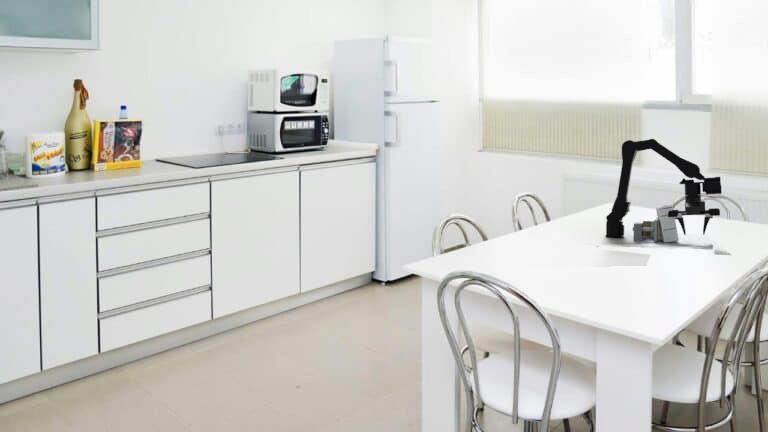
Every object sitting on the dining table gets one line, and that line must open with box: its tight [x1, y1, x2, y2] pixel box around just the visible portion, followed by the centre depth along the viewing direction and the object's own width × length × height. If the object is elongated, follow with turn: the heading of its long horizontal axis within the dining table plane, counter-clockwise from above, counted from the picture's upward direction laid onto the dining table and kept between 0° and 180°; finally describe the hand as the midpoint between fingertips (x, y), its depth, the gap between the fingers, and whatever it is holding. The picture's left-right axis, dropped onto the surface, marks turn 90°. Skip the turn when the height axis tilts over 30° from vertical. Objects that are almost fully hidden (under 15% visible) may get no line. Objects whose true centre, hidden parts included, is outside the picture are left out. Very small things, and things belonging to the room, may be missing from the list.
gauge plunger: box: [632, 216, 659, 243], centre depth 275 cm, size 10×13×9 cm
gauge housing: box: [633, 220, 661, 242], centre depth 274 cm, size 10×11×8 cm
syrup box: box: [655, 204, 680, 243], centre depth 270 cm, size 6×6×14 cm
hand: (694, 234), depth 265 cm, fingers open, 6 cm apart
